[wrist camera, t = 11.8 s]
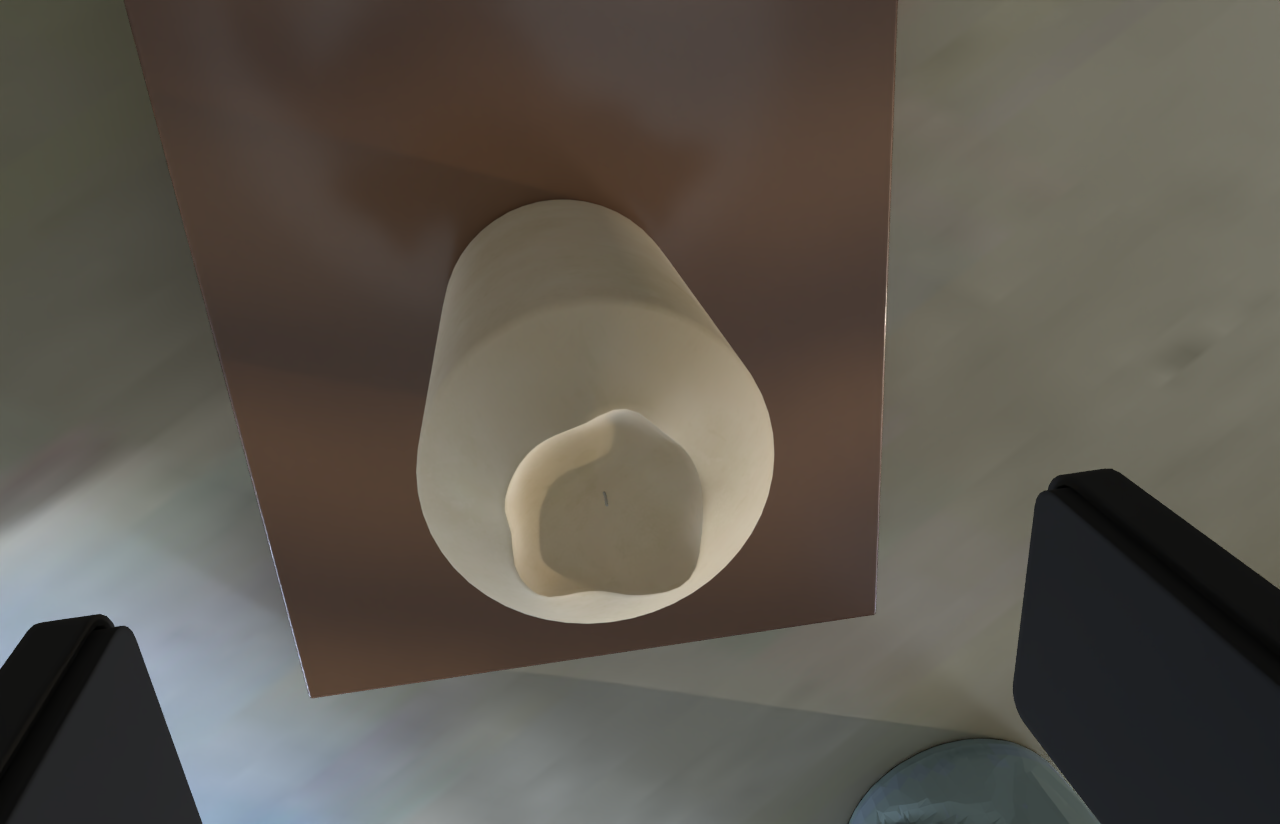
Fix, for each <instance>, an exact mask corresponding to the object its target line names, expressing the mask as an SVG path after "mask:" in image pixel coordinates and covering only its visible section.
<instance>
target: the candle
mask: <svg viewBox="0 0 1280 824" xmlns="http://www.w3.org/2000/svg"><path fill="white" fill-rule="evenodd" d="M773 466H774V440H773V431H772V426H771V422H770V417H769V413H768V410H767V407H766V405H765V402H764V399H763V396H762V394H761V392H760V390H759V388H758V386H757V385H756V383H755V381H754V379H753V377H752V375H751V374H750V372H749V371H748V370H747V368H746V367H745V365H744V364H743V363H742V361H741V360H740V358H739V357H738V356H737V354H736V353H735V351H734V350H733V349H732V347H731V346H730V345H729V343H728V342H727V340H726V339H725V338H724V336H723V335H722V333H721V332H720V331H719V329H718V328H717V327H716V325H715V324H714V322H713V321H712V320H711V318H710V317H709V315H708V314H707V313H706V311H705V310H704V308H703V307H702V306H701V304H700V303H699V302H698V300H697V299H696V297H695V296H694V295H693V293H692V292H691V290H690V289H689V288H688V286H687V285H686V284H685V282H684V281H683V279H682V278H681V277H680V275H679V274H678V272H677V271H676V270H675V268H674V267H673V266H672V264H671V263H670V261H669V260H668V259H667V257H666V256H665V255H664V253H663V252H662V251H661V249H660V248H659V247H658V245H657V244H656V243H655V242H654V241H653V240H652V239H651V238H650V237H649V236H648V235H647V234H646V233H645V232H644V231H643V230H642V229H641V228H640V227H639V226H637V225H636V224H635V223H634V222H632V221H631V220H630V219H628V218H626V217H624V216H623V215H621V214H619V213H617V212H616V211H613V210H611V209H608V208H606V207H603V206H601V205H597V204H593V203H589V202H585V201H577V200H548V201H540V202H536V203H532V204H528V205H525V206H522V207H519V208H517V209H515V210H512V211H510V212H508V213H506V214H505V215H503V216H501V217H500V218H498V219H496V220H495V221H493V222H492V223H491V224H489V225H488V226H487V227H486V228H484V229H483V230H482V231H481V232H480V233H479V234H478V235H477V236H476V237H475V238H474V239H473V240H472V241H471V242H470V243H469V245H468V246H467V247H466V249H465V250H464V252H463V253H462V254H461V256H460V258H459V260H458V262H457V263H456V265H455V267H454V269H453V272H452V275H451V277H450V280H449V283H448V286H447V290H446V294H445V299H444V303H443V308H442V314H441V319H440V325H439V331H438V336H437V342H436V348H435V353H434V359H433V365H432V370H431V376H430V382H429V387H428V393H427V399H426V404H425V410H424V416H423V421H422V427H421V433H420V439H419V445H418V453H417V468H416V475H417V487H418V495H419V499H420V504H421V508H422V512H423V515H424V518H425V520H426V523H427V525H428V528H429V530H430V533H431V535H432V537H433V538H434V540H435V542H436V543H437V545H438V547H439V549H440V550H441V552H442V553H443V555H444V556H445V557H446V558H447V560H448V561H449V562H450V563H451V565H452V566H453V567H454V568H455V569H456V570H457V571H458V572H459V573H460V574H461V575H462V576H463V577H464V578H465V579H466V580H467V581H468V582H469V583H470V584H472V585H473V586H474V587H476V588H477V589H478V590H480V591H481V592H483V593H484V594H485V595H487V596H488V597H490V598H492V599H494V600H496V601H497V602H499V603H501V604H503V605H505V606H507V607H509V608H512V609H514V610H517V611H519V612H522V613H524V614H527V615H531V616H535V617H538V618H542V619H546V620H552V621H558V622H565V623H584V624H592V623H606V622H614V621H620V620H625V619H631V618H635V617H638V616H642V615H645V614H648V613H652V612H654V611H657V610H659V609H662V608H664V607H666V606H669V605H671V604H674V603H675V602H677V601H679V600H681V599H683V598H684V597H686V596H688V595H690V594H692V593H693V592H695V591H696V590H697V589H699V588H700V587H702V586H703V585H704V584H706V583H707V582H709V581H710V580H711V579H712V578H713V577H714V576H716V575H717V574H718V573H719V572H720V571H721V570H722V569H723V568H725V567H726V565H727V564H728V563H729V562H730V561H731V560H732V559H733V558H734V556H735V555H736V554H737V553H738V552H739V551H740V549H741V548H742V546H743V545H744V544H745V542H746V541H747V539H748V538H749V536H750V535H751V533H752V532H753V530H754V528H755V526H756V524H757V522H758V520H759V518H760V516H761V514H762V511H763V508H764V506H765V503H766V500H767V498H768V494H769V490H770V485H771V481H772V476H773Z"/></svg>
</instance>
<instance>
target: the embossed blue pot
mask: <svg viewBox="0 0 1280 824" xmlns="http://www.w3.org/2000/svg"><path fill="white" fill-rule="evenodd" d="M849 824H1100V822H1099V821H1098V820H1097V818H1096V817H1095V816H1094V815H1093V813H1092V812H1091V811H1090V810H1089V808H1088V807H1087V806H1086V805H1085V804H1084V802H1083V801H1082V800H1081V799H1080V798H1079V796H1078V795H1077V794H1076V793H1075V792H1074V790H1073V789H1072V788H1071V787H1070V786H1069V784H1068V783H1067V782H1066V781H1065V780H1064V779H1063V777H1062V776H1061V775H1060V774H1059V773H1058V772H1057V770H1056V769H1055V768H1054V767H1053V766H1052V765H1051V764H1050V763H1049V762H1048V761H1046V760H1045V759H1044V758H1042V757H1041V756H1039V755H1038V754H1036V753H1035V752H1033V751H1031V750H1030V749H1027V748H1025V747H1023V746H1021V745H1018V744H1016V743H1013V742H1010V741H1002V740H995V739H967V740H961V741H956V742H951V743H947V744H943V745H939V746H936V747H933V748H930V749H928V750H926V751H924V752H921V753H919V754H917V755H915V756H913V757H912V758H910V759H908V760H906V761H904V762H903V763H901V764H899V765H898V766H897V767H895V768H894V769H892V770H891V771H890V772H888V773H887V774H886V775H885V776H884V777H882V778H881V779H880V780H879V781H878V782H877V783H876V784H875V785H874V786H873V787H872V788H871V789H870V790H869V791H868V793H867V794H866V795H865V796H864V798H863V799H862V800H861V801H860V803H859V805H858V806H857V808H856V809H855V811H854V813H853V815H852V817H851V819H850V822H849Z"/></svg>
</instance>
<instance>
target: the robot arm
mask: <svg viewBox="0 0 1280 824" xmlns="http://www.w3.org/2000/svg"><path fill="white" fill-rule="evenodd" d="M1013 696H1014V701H1015V705H1016V708H1017V710H1018V713H1019V715H1020V717H1021V719H1022V720H1023V722H1024V723H1025V725H1026V726H1027V727H1028V729H1029V730H1030V731H1031V733H1032V734H1033V735H1034V737H1035V738H1036V739H1037V741H1038V742H1039V743H1040V744H1041V746H1042V747H1043V748H1044V750H1045V751H1046V752H1047V754H1048V755H1049V756H1050V758H1051V759H1052V760H1053V762H1054V763H1055V764H1056V766H1057V767H1058V768H1059V770H1060V771H1061V772H1062V773H1063V775H1064V776H1065V777H1066V779H1067V780H1068V781H1069V783H1070V784H1071V785H1072V787H1073V788H1074V789H1075V791H1076V792H1077V793H1078V795H1079V796H1080V797H1081V798H1082V800H1083V801H1084V802H1085V804H1086V805H1087V806H1088V808H1089V809H1090V810H1091V812H1092V813H1093V814H1094V816H1095V817H1096V818H1097V820H1098V821H1099V822H1100V824H1280V590H1279V589H1278V588H1277V587H1275V586H1274V585H1272V584H1271V583H1270V582H1268V581H1267V580H1266V579H1264V578H1263V577H1262V576H1260V575H1259V574H1257V573H1256V572H1255V571H1253V570H1252V569H1251V568H1249V567H1248V566H1246V565H1245V564H1244V563H1242V562H1241V561H1240V560H1238V559H1237V558H1236V557H1234V556H1233V555H1231V554H1230V553H1229V552H1227V551H1226V550H1225V549H1223V548H1222V547H1221V546H1219V545H1218V544H1216V543H1215V542H1214V541H1212V540H1211V539H1210V538H1208V537H1207V536H1206V535H1204V534H1203V533H1201V532H1200V531H1199V530H1197V529H1196V528H1195V527H1193V526H1192V525H1190V524H1189V523H1188V522H1186V521H1185V520H1184V519H1182V518H1181V517H1180V516H1178V515H1177V514H1175V513H1174V512H1173V511H1171V510H1170V509H1169V508H1167V507H1166V506H1165V505H1163V504H1162V503H1160V502H1159V501H1158V500H1156V499H1155V498H1154V497H1152V496H1151V495H1150V494H1148V493H1147V492H1145V491H1144V490H1143V489H1141V488H1140V487H1139V486H1137V485H1136V484H1135V483H1133V482H1132V481H1130V480H1129V479H1128V478H1126V477H1125V476H1124V475H1122V474H1121V473H1119V472H1117V471H1115V470H1113V469H1099V470H1092V471H1085V472H1078V473H1072V474H1065V475H1059V476H1057V477H1055V478H1054V479H1053V480H1052V481H1051V483H1050V485H1049V487H1048V490H1047V491H1043V492H1041V493H1040V494H1039V495H1038V497H1037V499H1036V503H1035V508H1034V517H1033V525H1032V533H1031V541H1030V549H1029V558H1028V566H1027V574H1026V582H1025V590H1024V599H1023V607H1022V615H1021V623H1020V632H1019V640H1018V648H1017V656H1016V664H1015V673H1014V681H1013ZM0 824H202V821H201V818H200V816H199V813H198V810H197V807H196V805H195V802H194V799H193V796H192V793H191V791H190V788H189V785H188V782H187V780H186V777H185V774H184V771H183V768H182V766H181V763H180V760H179V757H178V755H177V752H176V749H175V746H174V743H173V741H172V738H171V735H170V732H169V730H168V727H167V724H166V721H165V718H164V716H163V713H162V710H161V707H160V704H159V702H158V699H157V696H156V693H155V691H154V688H153V685H152V682H151V679H150V677H149V674H148V671H147V668H146V666H145V663H144V660H143V657H142V654H141V652H140V649H139V646H138V643H137V641H136V638H135V636H134V634H133V632H132V631H131V630H130V629H129V628H128V627H126V626H119V627H114V625H113V623H112V621H111V620H110V619H109V618H108V617H107V616H104V615H101V614H97V615H90V616H83V617H76V618H69V619H62V620H55V621H49V622H42V623H38V624H35V625H33V626H32V627H31V628H30V629H29V630H28V631H27V633H26V634H25V635H24V637H23V638H22V640H21V641H20V642H19V644H18V645H17V647H16V648H15V649H14V651H13V652H12V654H11V655H10V656H9V658H8V659H7V661H6V662H5V663H4V665H3V666H2V668H1V669H0Z"/></svg>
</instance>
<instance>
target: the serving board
mask: <svg viewBox="0 0 1280 824" xmlns="http://www.w3.org/2000/svg"><path fill="white" fill-rule="evenodd" d="M124 4H125V7H126V11H127V15H128V19H129V22H130V26H131V30H132V34H133V37H134V41H135V45H136V49H137V52H138V56H139V60H140V64H141V67H142V71H143V75H144V79H145V82H146V86H147V90H148V94H149V97H150V101H151V105H152V109H153V112H154V116H155V120H156V124H157V127H158V131H159V135H160V139H161V142H162V146H163V150H164V154H165V157H166V161H167V165H168V169H169V172H170V176H171V180H172V184H173V187H174V191H175V195H176V199H177V202H178V206H179V210H180V214H181V217H182V221H183V225H184V229H185V232H186V236H187V240H188V244H189V247H190V251H191V255H192V259H193V262H194V266H195V270H196V274H197V277H198V281H199V285H200V289H201V292H202V296H203V300H204V304H205V307H206V311H207V315H208V319H209V322H210V326H211V330H212V334H213V337H214V341H215V345H216V349H217V352H218V356H219V360H220V364H221V367H222V371H223V375H224V379H225V382H226V386H227V390H228V394H229V397H230V401H231V405H232V409H233V412H234V416H235V420H236V424H237V427H238V431H239V435H240V439H241V442H242V446H243V450H244V454H245V457H246V461H247V465H248V469H249V472H250V476H251V480H252V484H253V487H254V491H255V495H256V499H257V502H258V506H259V510H260V514H261V518H262V521H263V525H264V529H265V533H266V536H267V540H268V544H269V548H270V551H271V555H272V559H273V563H274V566H275V570H276V574H277V578H278V581H279V585H280V589H281V593H282V596H283V600H284V604H285V608H286V611H287V615H288V619H289V623H290V626H291V630H292V634H293V638H294V641H295V645H296V649H297V653H298V656H299V660H300V664H301V668H302V671H303V675H304V679H305V683H306V686H307V690H308V694H309V697H310V698H318V697H324V696H331V695H338V694H345V693H351V692H358V691H365V690H371V689H378V688H385V687H392V686H398V685H405V684H412V683H419V682H425V681H432V680H439V679H445V678H452V677H459V676H466V675H472V674H479V673H486V672H492V671H499V670H506V669H513V668H519V667H526V666H533V665H539V664H546V663H553V662H560V661H566V660H573V659H580V658H586V657H593V656H600V655H607V654H613V653H620V652H627V651H633V650H640V649H647V648H654V647H660V646H667V645H674V644H680V643H687V642H694V641H701V640H707V639H714V638H721V637H727V636H734V635H741V634H748V633H754V632H761V631H768V630H774V629H781V628H788V627H795V626H801V625H808V624H815V623H822V622H828V621H835V620H842V619H848V618H855V617H862V616H869V615H874V614H875V613H876V597H877V569H878V541H879V513H880V485H881V457H882V429H883V401H884V372H885V344H886V316H887V288H888V260H889V232H890V204H891V176H892V147H893V119H894V91H895V63H896V35H897V7H898V0H124ZM548 200H577V201H585V202H589V203H593V204H597V205H601V206H603V207H606V208H608V209H611V210H613V211H616V212H617V213H619V214H621V215H623V216H624V217H626V218H628V219H630V220H631V221H632V222H634V223H635V224H636V225H637V226H639V227H640V228H641V229H642V230H643V231H644V232H645V233H646V234H647V235H648V236H649V237H650V238H651V239H652V240H653V241H654V242H655V243H656V244H657V245H658V247H659V248H660V249H661V251H662V252H663V253H664V255H665V256H666V257H667V259H668V260H669V261H670V263H671V264H672V266H673V267H674V268H675V270H676V271H677V272H678V274H679V275H680V277H681V278H682V279H683V281H684V282H685V284H686V285H687V286H688V288H689V289H690V290H691V292H692V293H693V295H694V296H695V297H696V299H697V300H698V302H699V303H700V304H701V306H702V307H703V308H704V310H705V311H706V313H707V314H708V315H709V317H710V318H711V320H712V321H713V322H714V324H715V325H716V327H717V328H718V329H719V331H720V332H721V333H722V335H723V336H724V338H725V339H726V340H727V342H728V343H729V345H730V346H731V347H732V349H733V350H734V351H735V353H736V354H737V356H738V357H739V358H740V360H741V361H742V363H743V364H744V365H745V367H746V368H747V370H748V371H749V372H750V374H751V375H752V377H753V379H754V381H755V383H756V385H757V386H758V388H759V390H760V392H761V394H762V396H763V399H764V402H765V405H766V407H767V410H768V413H769V417H770V422H771V426H772V431H773V440H774V466H773V476H772V481H771V485H770V490H769V494H768V498H767V500H766V503H765V506H764V508H763V511H762V514H761V516H760V518H759V520H758V522H757V524H756V526H755V528H754V530H753V532H752V533H751V535H750V536H749V538H748V539H747V541H746V542H745V544H744V545H743V546H742V548H741V549H740V551H739V552H738V553H737V554H736V555H735V556H734V558H733V559H732V560H731V561H730V562H729V563H728V564H727V565H726V567H725V568H723V569H722V570H721V571H720V572H719V573H718V574H717V575H716V576H714V577H713V578H712V579H711V580H710V581H709V582H707V583H706V584H704V585H703V586H702V587H700V588H699V589H697V590H696V591H695V592H693V593H692V594H690V595H688V596H686V597H684V598H683V599H681V600H679V601H677V602H675V603H674V604H671V605H669V606H666V607H664V608H662V609H659V610H657V611H654V612H652V613H648V614H645V615H642V616H638V617H635V618H631V619H625V620H620V621H614V622H606V623H592V624H584V623H565V622H558V621H552V620H546V619H542V618H538V617H535V616H531V615H527V614H524V613H522V612H519V611H517V610H514V609H512V608H509V607H507V606H505V605H503V604H501V603H499V602H497V601H496V600H494V599H492V598H490V597H488V596H487V595H485V594H484V593H483V592H481V591H480V590H478V589H477V588H476V587H474V586H473V585H472V584H470V583H469V582H468V581H467V580H466V579H465V578H464V577H463V576H462V575H461V574H460V573H459V572H458V571H457V570H456V569H455V568H454V567H453V566H452V565H451V563H450V562H449V561H448V560H447V558H446V557H445V556H444V555H443V553H442V552H441V550H440V549H439V547H438V545H437V543H436V542H435V540H434V538H433V537H432V535H431V533H430V530H429V528H428V525H427V523H426V520H425V518H424V515H423V512H422V508H421V504H420V499H419V495H418V487H417V475H416V468H417V453H418V445H419V439H420V433H421V427H422V421H423V416H424V410H425V404H426V399H427V393H428V387H429V382H430V376H431V370H432V365H433V359H434V353H435V348H436V342H437V336H438V331H439V325H440V319H441V314H442V308H443V303H444V299H445V294H446V290H447V286H448V283H449V280H450V277H451V275H452V272H453V269H454V267H455V265H456V263H457V262H458V260H459V258H460V256H461V254H462V253H463V252H464V250H465V249H466V247H467V246H468V245H469V243H470V242H471V241H472V240H473V239H474V238H475V237H476V236H477V235H478V234H479V233H480V232H481V231H482V230H483V229H484V228H486V227H487V226H488V225H489V224H491V223H492V222H493V221H495V220H496V219H498V218H500V217H501V216H503V215H505V214H506V213H508V212H510V211H512V210H515V209H517V208H519V207H522V206H525V205H528V204H532V203H536V202H540V201H548Z"/></svg>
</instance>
